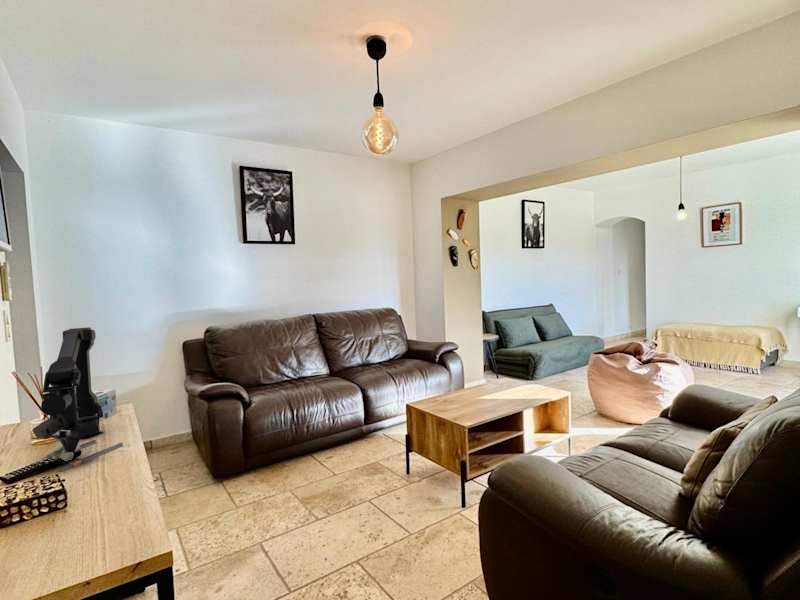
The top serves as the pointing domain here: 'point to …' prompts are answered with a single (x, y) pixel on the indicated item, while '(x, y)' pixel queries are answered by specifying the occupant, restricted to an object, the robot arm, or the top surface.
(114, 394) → the light bulb box
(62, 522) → the top surface
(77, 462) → the grey metal bars
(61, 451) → the pipe fitting
